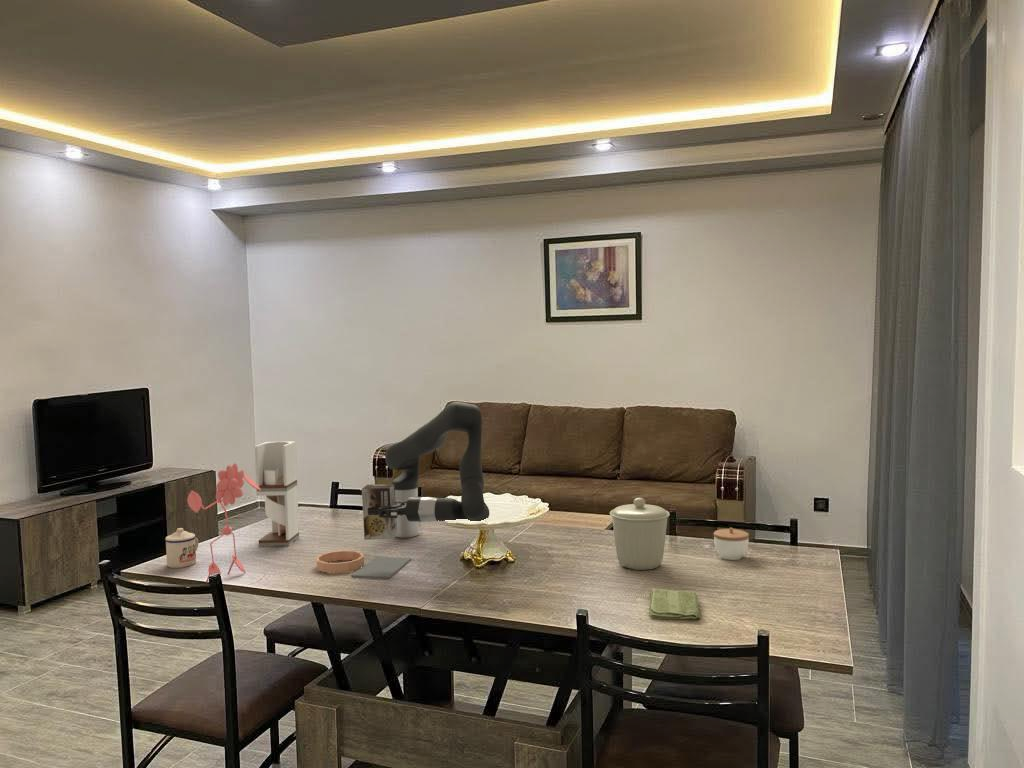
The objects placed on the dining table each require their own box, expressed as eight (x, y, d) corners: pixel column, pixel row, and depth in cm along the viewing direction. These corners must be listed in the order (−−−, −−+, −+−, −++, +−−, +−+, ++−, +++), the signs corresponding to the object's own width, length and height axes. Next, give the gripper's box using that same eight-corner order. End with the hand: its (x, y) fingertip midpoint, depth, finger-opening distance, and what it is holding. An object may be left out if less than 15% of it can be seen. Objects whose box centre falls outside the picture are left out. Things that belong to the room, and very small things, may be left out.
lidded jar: (713, 560, 242) (712, 531, 241) (714, 551, 252) (714, 523, 251) (748, 563, 239) (748, 533, 238) (749, 553, 249) (748, 524, 248)
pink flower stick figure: (182, 591, 222) (179, 470, 220) (244, 566, 246) (242, 456, 244) (224, 597, 216) (222, 473, 214) (284, 571, 240) (282, 459, 238)
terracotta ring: (329, 558, 252) (328, 549, 252) (370, 560, 249) (370, 551, 249) (308, 572, 238) (308, 562, 238) (352, 574, 235) (352, 564, 235)
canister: (678, 562, 241) (678, 495, 240) (655, 578, 226) (655, 506, 225) (625, 554, 251) (625, 489, 250) (600, 568, 236) (599, 500, 235)
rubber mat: (376, 558, 252) (376, 556, 252) (411, 559, 249) (411, 557, 249) (351, 577, 232) (351, 575, 232) (389, 578, 230) (389, 576, 230)
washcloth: (648, 621, 193) (648, 608, 193) (649, 597, 210) (649, 586, 210) (702, 624, 191) (702, 611, 190) (698, 600, 208) (698, 588, 208)
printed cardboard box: (397, 534, 243) (395, 483, 242) (392, 539, 237) (390, 487, 236) (369, 534, 244) (367, 483, 243) (363, 540, 237) (361, 487, 237)
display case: (270, 537, 281) (266, 441, 279) (299, 537, 281) (295, 441, 278) (258, 546, 270) (254, 446, 268) (288, 545, 269) (285, 445, 267)
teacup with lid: (182, 569, 243) (180, 533, 243) (159, 567, 246) (158, 531, 246) (209, 559, 255) (207, 524, 254) (187, 556, 258) (185, 522, 257)
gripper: (430, 492, 243) (380, 491, 247) (415, 502, 229) (363, 501, 233) (431, 515, 244) (381, 515, 247) (416, 527, 230) (364, 525, 233)
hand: (372, 508), depth 240 cm, fingers closed on printed cardboard box, 7 cm apart
